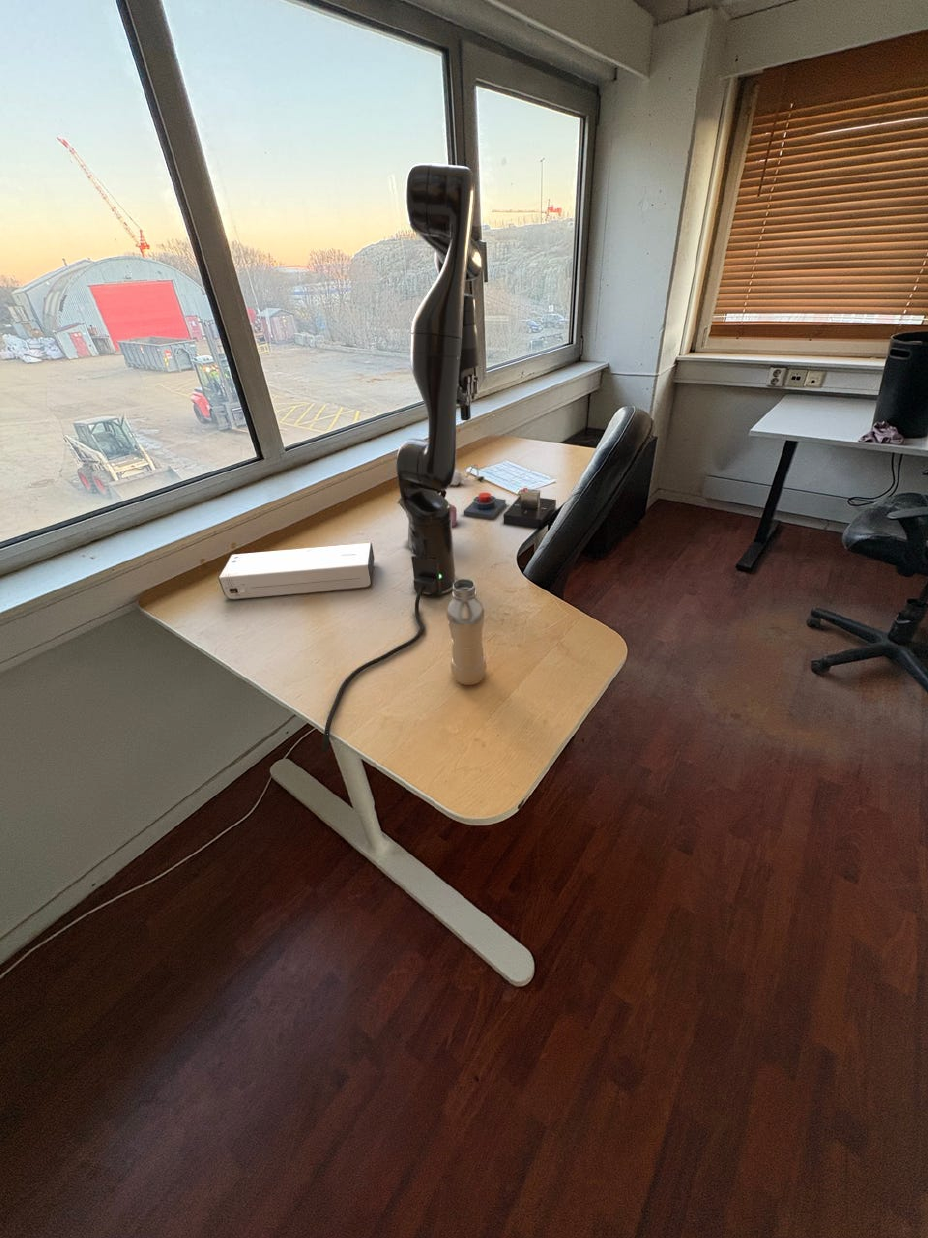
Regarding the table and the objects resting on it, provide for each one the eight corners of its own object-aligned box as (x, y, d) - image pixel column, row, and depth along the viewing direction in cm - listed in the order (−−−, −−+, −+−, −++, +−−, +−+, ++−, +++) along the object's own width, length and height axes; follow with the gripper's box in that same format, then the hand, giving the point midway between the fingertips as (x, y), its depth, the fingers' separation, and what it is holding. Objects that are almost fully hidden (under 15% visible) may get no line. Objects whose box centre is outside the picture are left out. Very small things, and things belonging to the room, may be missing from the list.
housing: (492, 520, 145) (492, 508, 143) (463, 516, 148) (463, 504, 146) (505, 505, 153) (505, 494, 150) (478, 501, 156) (478, 490, 154)
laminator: (375, 564, 128) (371, 542, 124) (372, 590, 118) (368, 567, 114) (239, 575, 126) (231, 554, 123) (225, 603, 116) (216, 580, 113)
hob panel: (541, 529, 138) (541, 519, 136) (503, 524, 142) (503, 513, 140) (555, 509, 148) (556, 499, 146) (519, 504, 152) (520, 494, 150)
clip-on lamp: (480, 482, 176) (429, 473, 175) (484, 464, 173) (432, 455, 171) (482, 492, 166) (428, 483, 164) (486, 473, 163) (430, 463, 161)
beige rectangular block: (539, 506, 143) (540, 489, 140) (537, 509, 142) (538, 492, 139) (523, 504, 145) (523, 487, 142) (520, 507, 143) (520, 490, 140)
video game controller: (457, 526, 146) (457, 501, 145) (455, 526, 141) (455, 501, 140) (424, 526, 147) (423, 502, 146) (421, 526, 142) (420, 501, 141)
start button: (488, 503, 146) (488, 498, 145) (476, 502, 148) (476, 496, 147) (492, 498, 149) (492, 493, 148) (481, 497, 150) (481, 491, 149)
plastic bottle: (485, 663, 95) (482, 572, 83) (488, 689, 89) (485, 595, 78) (451, 665, 95) (443, 574, 83) (452, 691, 89) (443, 597, 78)
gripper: (465, 350, 116) (468, 427, 126) (486, 341, 126) (488, 413, 136) (436, 349, 119) (442, 425, 129) (459, 340, 128) (463, 412, 139)
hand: (465, 419), depth 132 cm, fingers closed
